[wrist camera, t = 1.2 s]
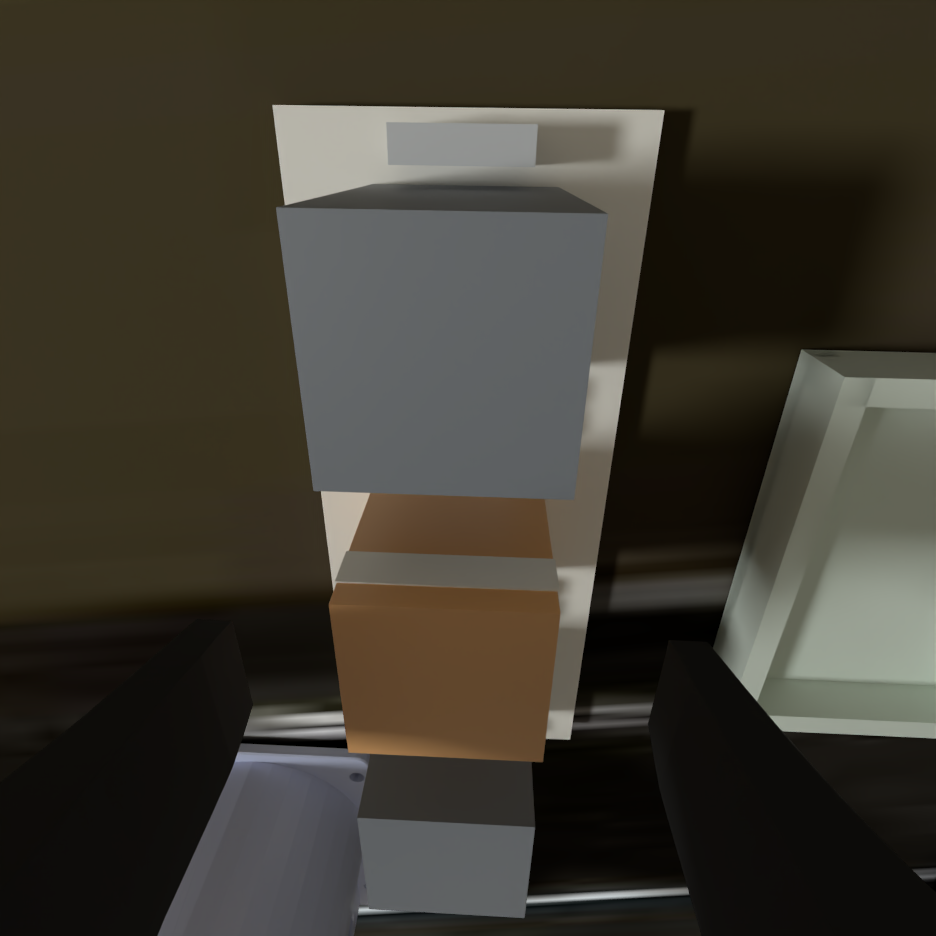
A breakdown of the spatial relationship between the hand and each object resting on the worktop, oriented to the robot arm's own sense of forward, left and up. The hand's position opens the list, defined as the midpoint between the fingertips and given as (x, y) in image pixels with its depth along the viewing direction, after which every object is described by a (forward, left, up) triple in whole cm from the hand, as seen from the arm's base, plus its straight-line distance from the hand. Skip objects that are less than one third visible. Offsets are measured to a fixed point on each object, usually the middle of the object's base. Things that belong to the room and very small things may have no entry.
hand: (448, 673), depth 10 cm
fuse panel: (0, 0, -6) cm, 6 cm away
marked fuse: (0, 0, -5) cm, 5 cm away
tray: (-1, -11, -6) cm, 13 cm away
